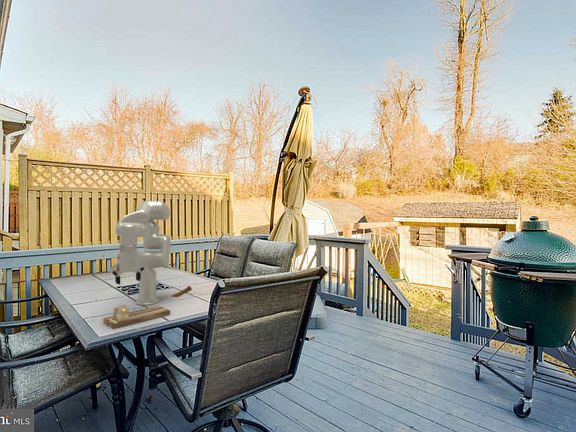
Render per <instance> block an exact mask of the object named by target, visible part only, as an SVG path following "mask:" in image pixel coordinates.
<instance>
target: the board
mask: <svg viewBox="0 0 576 432" xmlns="http://www.w3.org/2000/svg"><path fill="white" fill-rule="evenodd" d="M167 316H171V310H170V309H168V308H165V307H163V306H161V305H157V306H151V307H148V308H142V309H138V310H135V311H129V319H127V320H123V321H119V322H118V321H116V320H114V315H112V316H107V317H103V319H102V320H103V321H102V322H103V324H104V325H105V324H106V326H107V327H109V328H111V329H112V330H116V328H117V329H120V327H121V328H125V327H128V326H131V325H132V326H133V325H135V324H139V323H143V322H147V321H151V320H155V319H159V318H163V317H167Z"/></svg>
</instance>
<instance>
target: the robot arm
mask: <svg viewBox="0 0 576 432" xmlns="http://www.w3.org/2000/svg"><path fill="white" fill-rule="evenodd" d="M170 216H171V210H170V207H169V206H168V205H167V204H166V203H165V202H163V201H161V200H144V201H142V202H141V203H140V204H139V206H138V207H137V209H136V210H135V211H134V212H131V213H129V214H127V215H124V216H123V217H121V218H120V220H119V221H118V222H117V224H116V226H115V234H116V236H118V237H119V247H116V248H117V251H118V254H117V259H116V260H117V261H116V264H115V265H112V266H111V267H110V268H109V271H110V273H111V274H112V275H113V276H115V280H114V281H115V283H116V285H118V286H119V285H121V274H122V273H130V272H135V280H136V281H137V282H138V284H139V287H138V288H139V289H138V300H136V301H135V304H136V305H138V306H150V305H156V304H158V303H159V299H158V298H157V271H156V270H155V269H154V267H155V268H156V267H161V268H162V267H166V266H167V265H168V264H169V262H170V253H171V237H170V236H169V235H168V234H161V233H160V225H159V224H158V222H156V220H158V221H161V220H162V221H166V220H168V219H169V218H170ZM142 237H143V242H142V244H143V245H142V246H143V248H144V249H146V250H144V251H141V252H140V251H139V250H138V238H142Z"/></svg>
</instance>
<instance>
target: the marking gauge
mask: <svg viewBox="0 0 576 432" xmlns="http://www.w3.org/2000/svg"><path fill="white" fill-rule="evenodd" d="M129 312H130V307H129V306H127V305H126V304H123V305H119V306H113V316H114V320H116V321H118V322H119V321H123V320H127V319H129Z"/></svg>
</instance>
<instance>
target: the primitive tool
mask: <svg viewBox="0 0 576 432" xmlns="http://www.w3.org/2000/svg"><path fill="white" fill-rule="evenodd" d="M189 290H191V291H192V287H191V286H190V285H188V286H187V287H186V288H184V289H183V290H180V291H179V292H177V293H175V294H171V298H179V297H180V296H183V295H184V294H186V293H187V291H188V292H190V291H189ZM182 294H183V295H182Z"/></svg>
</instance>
